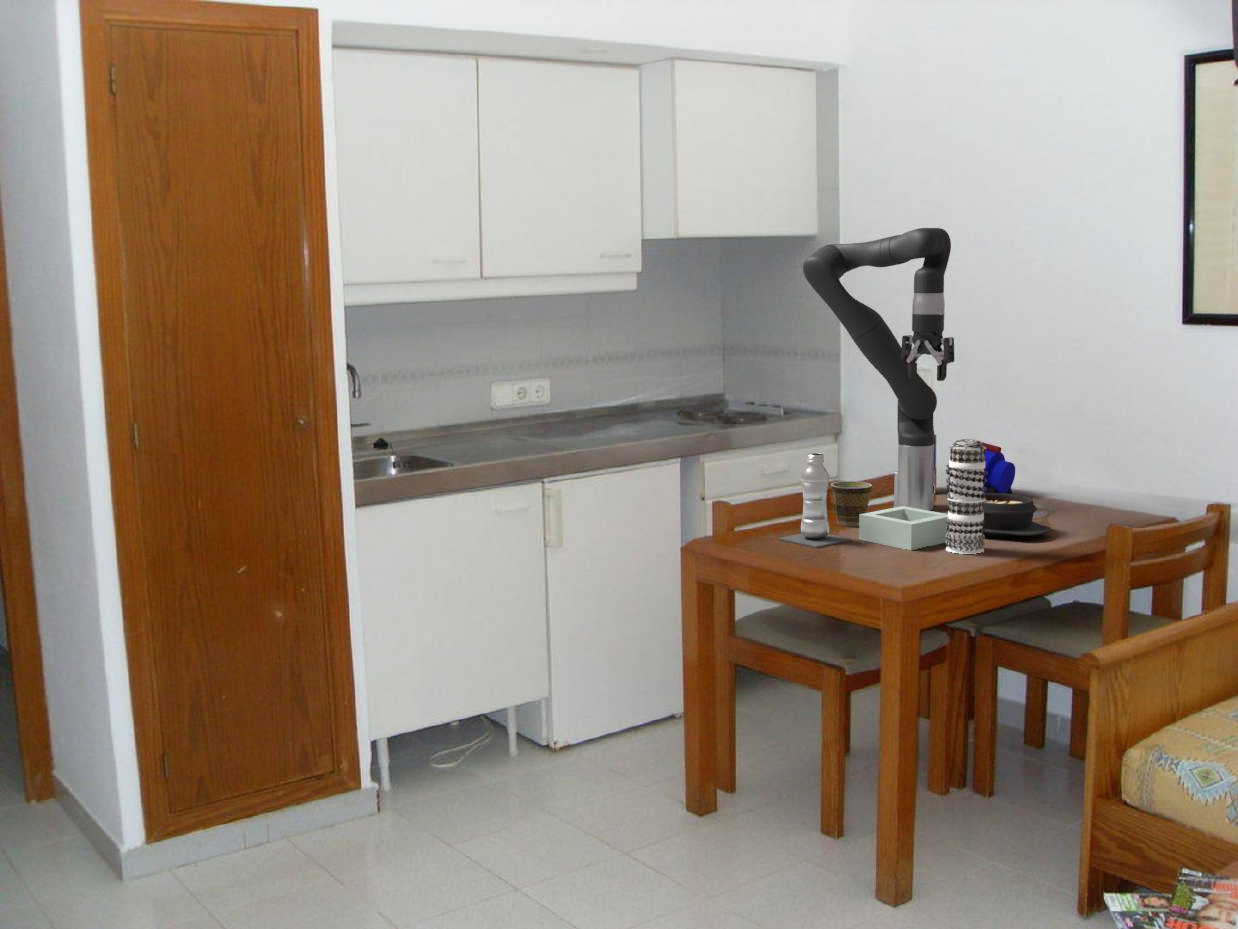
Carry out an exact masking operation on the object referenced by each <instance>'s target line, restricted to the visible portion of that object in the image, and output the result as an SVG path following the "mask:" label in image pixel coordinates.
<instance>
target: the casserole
mask: <svg viewBox="0 0 1238 929" xmlns="http://www.w3.org/2000/svg"><path fill="white" fill-rule="evenodd" d="M984 494H985V495H986V496H987V497H986V498H985V499H986V500H985V501H984V502H983V512H984V521H985V525H983V527H984V528H985V531H984V532H982V533H983V534H984V535H986V536H987V537H995V538H1012V537H1019V536H1021V537H1022V536H1024V537H1027V536H1028V537H1029V536H1039V535H1044V534H1047V533H1050V532H1051V531H1052V527H1050V526H1047V525H1044V524H1040V523H1038V522H1035V521H1033V517H1034V513H1035V512H1036V511H1037V510H1038V508H1037V506H1036V505H1035V503H1034V500H1033V498H1031V497H1028V496H1025V495H1020V494H1013V493H1012V494H1007V493H984ZM986 536H985V537H986Z"/></svg>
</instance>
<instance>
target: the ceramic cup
mask: <svg viewBox="0 0 1238 929" xmlns="http://www.w3.org/2000/svg"><path fill="white" fill-rule="evenodd" d="M830 486H831V488H830V487H828V490H827V492H829V493H830V495H831V497H832V498H833V504H832V503H830V502H829V500H827V505H828V506H830V507H831V508H832V509H833V511H835V514H836V515H835V516H836V521H837V526H841V527H846V528H847V527H849V528H850V527H853V528H855V527H856V528H857V527H858V528H859V514H864V513H868V507H869V503H870V502H869V501H870V498H871V495H872V488H873V485H872V484H871V483H869V482H863V481H855V480H854V481H849V480H848V481H847V480H845V481H837V482H836V481H835V482H833V483H831V484H830Z"/></svg>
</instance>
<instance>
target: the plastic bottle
mask: <svg viewBox="0 0 1238 929" xmlns="http://www.w3.org/2000/svg"><path fill="white" fill-rule="evenodd" d="M806 458H807V459H806V463H807V465H805V468H804V469H803V470H802V472H801V474H800V481H801V489H802V499H803V501H802V503H803V505H802V506H803V507H802V517H801V523H800V532H801V534H803V536H804V537H808V538H812V539H818V538H824V537H826V536H827V535H828V534H829V533H830V532H829V531H830V522H829V517H828V507H827V505H828V503H827V501H828V500H827V498H828V488H829V483H830V482H829V481H830V475H829V474H830V473H829V472H828V470H827V469H826V467H825V466H824V464H823V463H824V461H825V460H824V453H821V452H813V453H812V452H811V453H807V455H806Z"/></svg>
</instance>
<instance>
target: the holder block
mask: <svg viewBox="0 0 1238 929" xmlns="http://www.w3.org/2000/svg"><path fill="white" fill-rule="evenodd" d="M947 519H948V513H945V512H938V511H932V510H930V511H928V510H922V509H917V508H911V507H905V506H900V507H895V508H894V507H891V508H886V509H880V510H876V511H871V512H867V513H864V514H859V526H858V540H861V541H864V542H870V543H873V544H879V545H884V546H888V547H893V548H898V549H903V550H906V549H907V550H906V551H915V550H919V549H918V548H920V549H923V548H922V547H924V548H927V547H926V546H929V547H932V546H937V545H941V544H946V540H947V538H946V533H948V530H946V526H948V525H949V524H947V523H946V520H947Z"/></svg>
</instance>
